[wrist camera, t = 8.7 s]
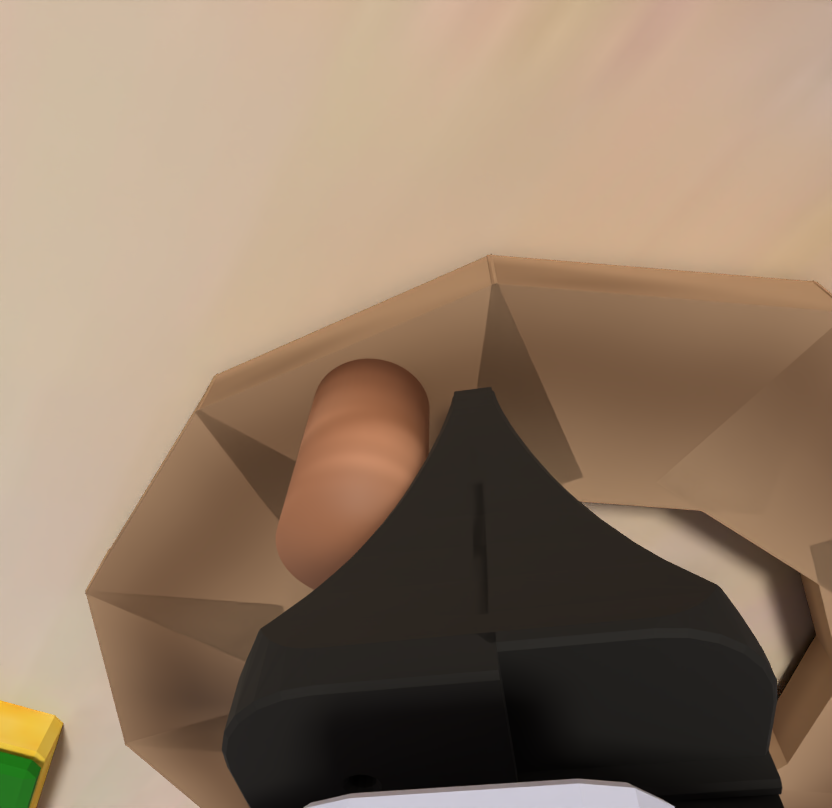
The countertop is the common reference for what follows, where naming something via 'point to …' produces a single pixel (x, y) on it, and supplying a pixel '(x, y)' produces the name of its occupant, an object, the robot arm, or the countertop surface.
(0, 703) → the dish sponge
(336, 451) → the faceted tan ring
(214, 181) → the countertop surface
